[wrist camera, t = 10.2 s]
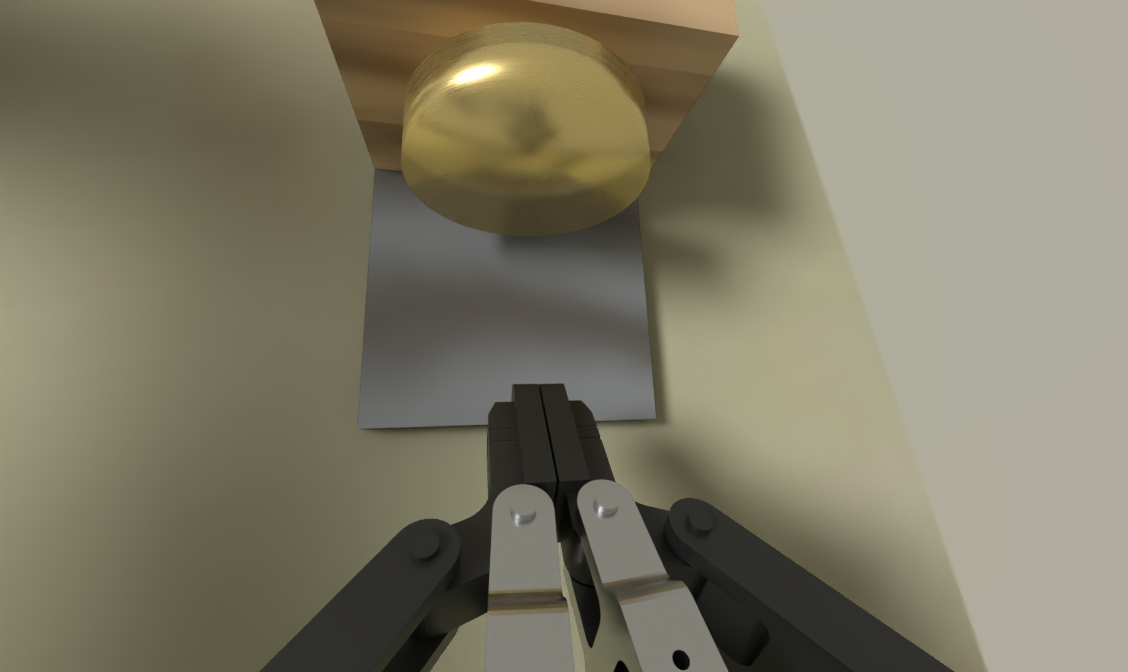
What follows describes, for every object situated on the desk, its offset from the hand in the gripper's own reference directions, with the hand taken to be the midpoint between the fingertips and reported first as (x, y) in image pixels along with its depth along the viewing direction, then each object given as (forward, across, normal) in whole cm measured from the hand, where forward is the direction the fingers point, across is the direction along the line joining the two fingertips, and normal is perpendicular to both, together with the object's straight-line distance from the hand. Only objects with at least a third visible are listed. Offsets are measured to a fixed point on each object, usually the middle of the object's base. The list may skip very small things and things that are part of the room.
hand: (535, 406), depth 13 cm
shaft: (+14, 0, +8) cm, 16 cm away
